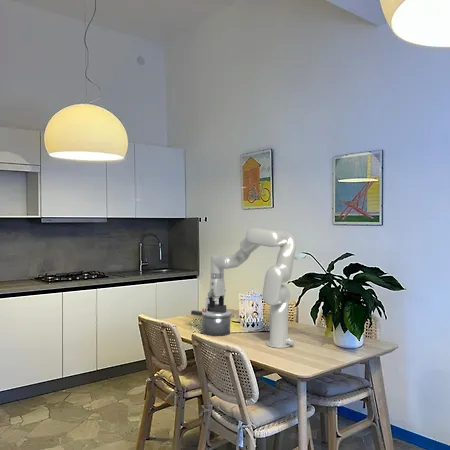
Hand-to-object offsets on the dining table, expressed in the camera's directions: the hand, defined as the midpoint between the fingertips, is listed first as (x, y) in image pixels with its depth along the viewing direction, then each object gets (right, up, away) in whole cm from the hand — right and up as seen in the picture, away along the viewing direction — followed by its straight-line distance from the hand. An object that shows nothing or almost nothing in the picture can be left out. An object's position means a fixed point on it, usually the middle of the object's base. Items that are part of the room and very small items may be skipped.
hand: (216, 306), depth 257 cm
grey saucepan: (-4, -15, +3) cm, 16 cm away
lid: (0, -4, 0) cm, 4 cm away
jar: (-3, -15, +25) cm, 29 cm away
